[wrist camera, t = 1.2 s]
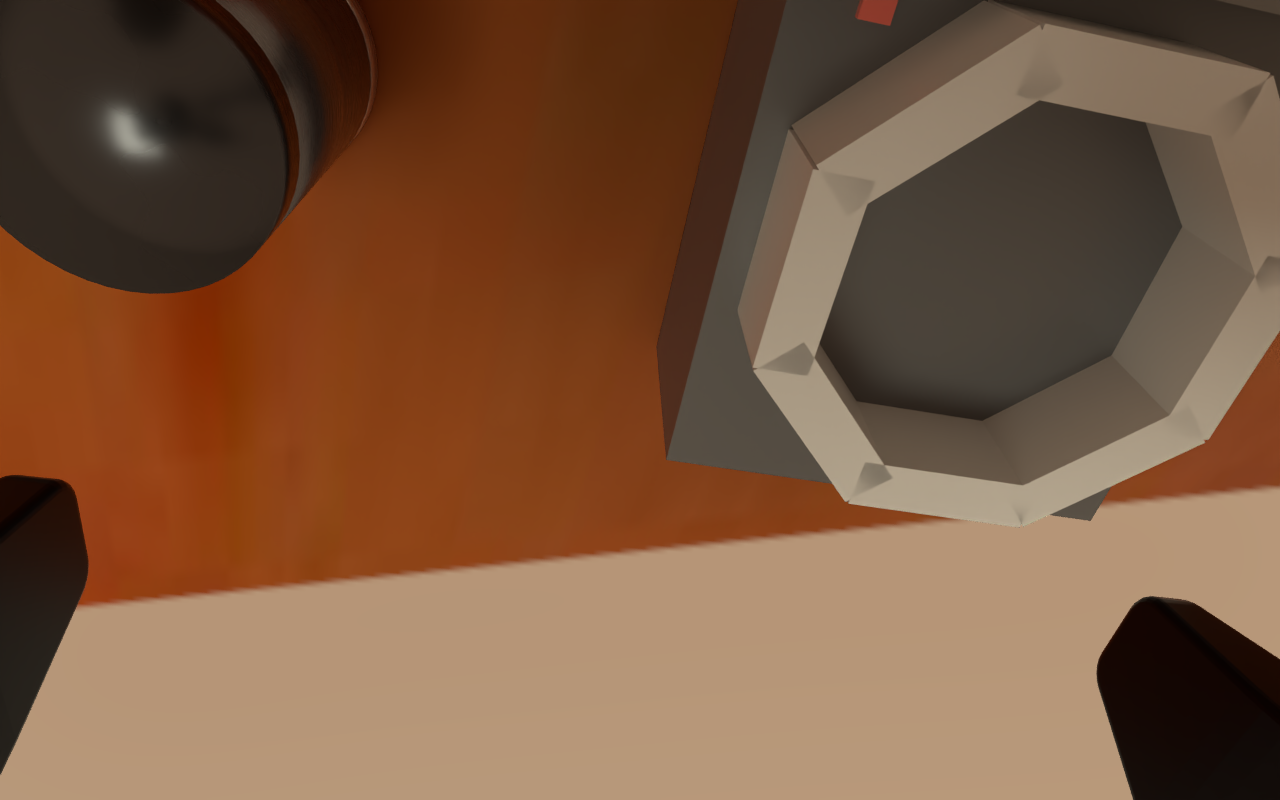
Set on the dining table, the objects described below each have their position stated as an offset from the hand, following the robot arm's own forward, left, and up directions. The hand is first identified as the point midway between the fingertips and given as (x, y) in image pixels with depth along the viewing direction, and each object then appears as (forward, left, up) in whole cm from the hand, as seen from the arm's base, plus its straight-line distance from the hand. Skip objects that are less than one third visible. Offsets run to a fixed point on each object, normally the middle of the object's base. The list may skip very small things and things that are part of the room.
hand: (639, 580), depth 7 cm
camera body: (-6, -1, -13) cm, 14 cm away
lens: (+7, 0, -13) cm, 15 cm away
